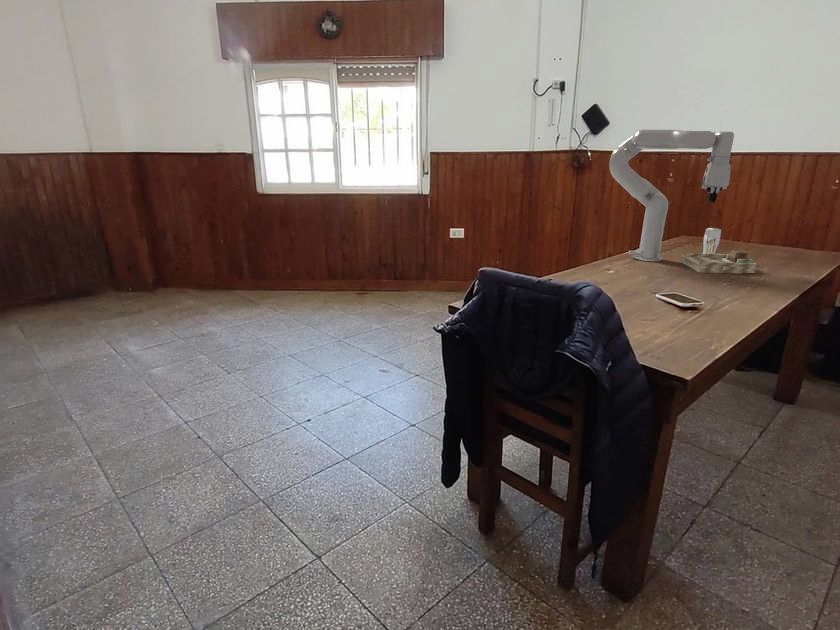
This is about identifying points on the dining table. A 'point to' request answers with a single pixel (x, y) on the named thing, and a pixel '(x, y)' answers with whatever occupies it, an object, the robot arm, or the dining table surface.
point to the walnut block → (737, 255)
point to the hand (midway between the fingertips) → (711, 201)
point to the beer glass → (711, 240)
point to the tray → (717, 263)
